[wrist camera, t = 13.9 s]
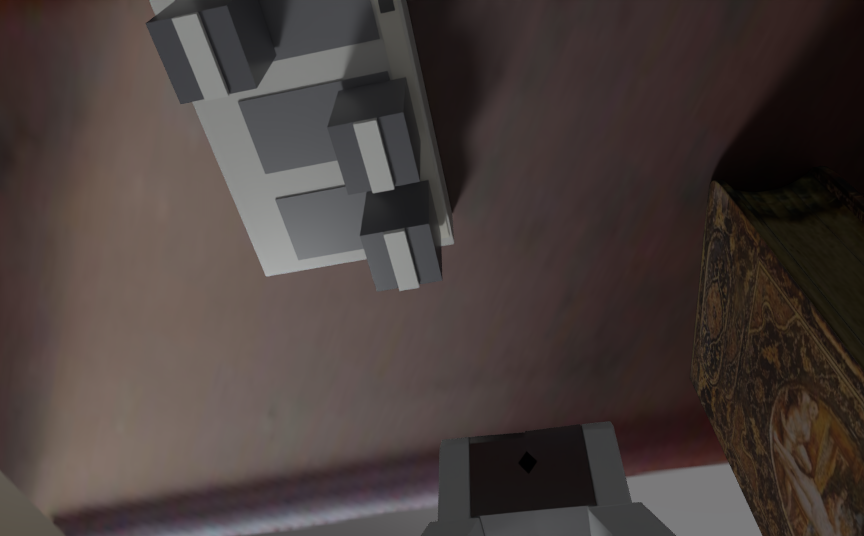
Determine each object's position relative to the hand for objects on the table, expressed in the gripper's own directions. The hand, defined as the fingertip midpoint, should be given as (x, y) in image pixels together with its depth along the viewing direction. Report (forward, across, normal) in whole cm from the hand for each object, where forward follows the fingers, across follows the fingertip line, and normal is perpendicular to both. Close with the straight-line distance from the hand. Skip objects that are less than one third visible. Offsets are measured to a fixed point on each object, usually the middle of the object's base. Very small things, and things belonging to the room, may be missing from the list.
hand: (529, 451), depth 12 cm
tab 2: (+20, +5, +6) cm, 22 cm away
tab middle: (+20, +5, +1) cm, 21 cm away
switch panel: (+23, +8, +1) cm, 25 cm away
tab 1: (+20, +10, -4) cm, 23 cm away
